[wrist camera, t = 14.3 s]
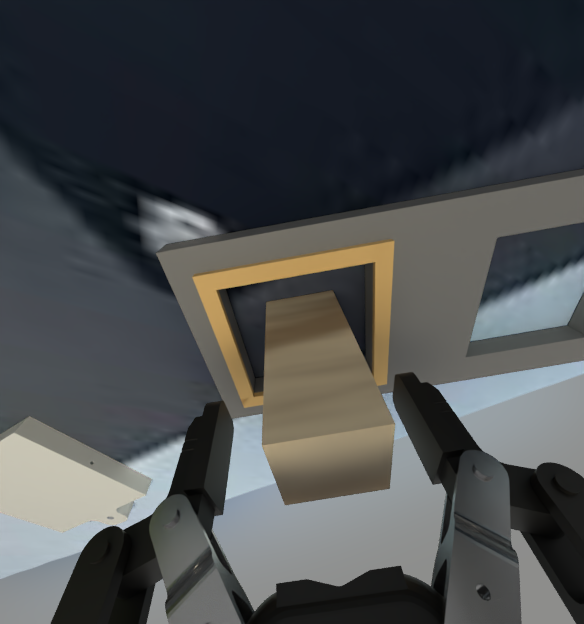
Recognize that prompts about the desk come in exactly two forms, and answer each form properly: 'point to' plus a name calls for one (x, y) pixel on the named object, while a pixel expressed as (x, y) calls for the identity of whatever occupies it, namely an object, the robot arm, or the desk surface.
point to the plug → (321, 404)
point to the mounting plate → (63, 479)
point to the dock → (386, 283)
